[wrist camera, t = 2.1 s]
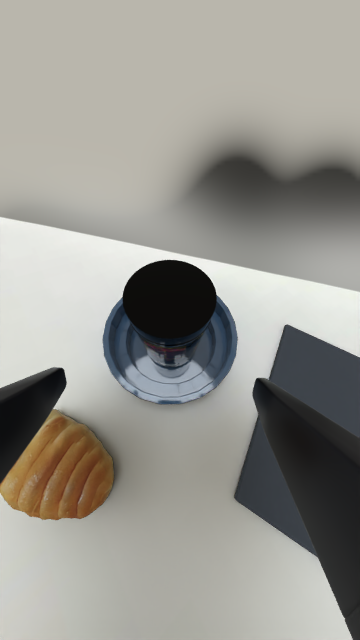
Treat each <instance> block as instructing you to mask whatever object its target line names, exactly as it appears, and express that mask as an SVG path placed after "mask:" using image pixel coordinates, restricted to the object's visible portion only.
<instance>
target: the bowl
mask: <svg viewBox="0 0 360 640" xmlns="http://www.w3.org/2000/svg"><path fill="white" fill-rule="evenodd" d="M216 296H217V295H216ZM237 340H238V337H237V332H236V326H235V322H234V319H233V317H232V315H231V313H230V311H229V309H228V307H227V306H226V305H225V304H224V303H223V301H222V300H221V299H220V298H219V297H218V296H217V303H216V308H215V311H214V313H213V316H212V318H211V321H210V323H209V325H208V327H207V329H206V330H205V332H204V335H203V337H202V339H201V341H200V343H199V346H198V348H197V350H196V352H195V354H194V356H193V357H192V358H191V359H190V360H189V361H188V362H186V363H185V364H182V365H180V366H176V367H166V366H162V365H160V364H158V363H156V362H155V361H153V360H152V359H151V358H150V356H149V355H148V353H147V351H146V349H145V348H144V346H143V344H142V342H141V340H140V338H139V336H138V335H137V333H136V331H135V330H134V329H133V327H132V325H131V323H130V321H129V319H128V317H127V315H126V313H125V311H124V307H123V297H122V298H121V299H120V300H119V302H118V303H117V304H116V305H115V306H114V307H113V309H112V311H111V313H110V315H109V317H108V319H107V321H106V324H105V329H104V334H103V348H104V357H105V359H106V362H107V364H108V367H109V369H110V372H111V373H112V375H113V376H114V377H115V378H116V379H117V381H118V382H119V383H120V384H121V386H122V387H124V388H125V389H126V390H128V391H129V392H131V393H132V394H134V395H135V396H137V397H138V398H140V399H143V400H147V401H150V402H154V403H157V404H182V403H186V402H189V401H192V400H195V399H198V398H201V397H203V396H204V395H205V394H207V393H208V392H210V391H211V390H213V389H214V388H216V387H217V386H218V385H219V384H220V382H221V381H222V380H223V379H224V377H225V376H226V375H227V374H228V373H229V371H230V369H231V366H232V364H233V361H234V359H235V356H236V350H237Z"/></svg>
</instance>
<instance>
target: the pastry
mask: <svg viewBox="0 0 360 640" xmlns="http://www.w3.org/2000/svg"><path fill="white" fill-rule="evenodd" d="M113 481H114V472H113V459H112V457H111V456H110V455H109V454H108V452H107V451H106V450H105V449H104V448H103V446H102V443H101V441H100V440H98V439H97V438H96V436H95V434H94V432H92V431H90V430H89V429H88V427H87V426H86V425H84V424H79V423H77V422H76V421H74V420H73V419H72V418H70V417H68V416H65V415H63V414H61V413H60V412H59V411H58V410H56V409H53V410H52V411H51V413H50V415H49V416H48V418H47V419H46V421H45V422H44V424H43V425H42V427H41V428H40V430H39V431H38V432H37V434H36V435H35V437H34V438H33V439H32V441H31V442H30V444H29V445H28V446H27V448H26V449H25V451H24V452H23V453H22V455H21V456H20V458H19V459H18V460H17V462H16V463H15V465H14V466H13V467H12V469H11V470H10V472H9V473H8V474H7V476H6V477H5V479H4V480H3V481H2V483H1V484H0V493H1V495H2V496H3V498H4V500H6V501H7V503H8V504H9V505H10V506H11V507H12V508H13V509H16V510H19V511H23V512H25V513H26V514H27V515H29V516H30V517H39V518H41V519H42V520H46V519H53V520H59V519H61V518H78V519H81V518H84V517H86V516H88V515H89V514H91V513H92V512H93V511H94V510H96V509H97V508H98V507H99V506H101V505H102V504H103V503H104V502H105V500H106V499H107V497H108V495H109V493H110V491H111V488H112V485H113Z"/></svg>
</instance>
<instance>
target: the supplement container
mask: <svg viewBox="0 0 360 640" xmlns="http://www.w3.org/2000/svg"><path fill="white" fill-rule="evenodd" d="M216 303H217V296H216V290H215V287H214V285H213V283H212V281H211V280H210V278H209V277H208V276H207V275H206V274H205V273H204V272H203V271H202V270H200V269H199V268H197V267H196V266H194V265H192V264H189V263H186V262H183V261H177V260H162V261H157V262H153V263H150V264H148V265H146V266H144V267H142V268H141V269H139V270H138V271H136V272H135V273H134V274H133V275H132V276H131V278H130V279H129V280H128V282H127V284H126V286H125V288H124V292H123V307H124V311H125V313H126V315H127V317H128V319H129V321H130V323H131V325H132V327H133V329H134V330H135V331H136V333H137V335H138V336H139V338H140V340H141V342H142V344H143V346H144V348H145V349H146V351H147V353H148V355H149V356H150V358H151V359H152V360H153V361H155V362H156V363H158V364H160V365H162V366H166V367H176V366H180V365H182V364H185V363H186V362H188V361H189V360H190V359H191V358H192V357H193V356H194V354H195V352H196V350H197V348H198V346H199V343H200V341H201V339H202V337H203V335H204V332H205V330H206V329H207V327H208V325H209V323H210V321H211V318H212V316H213V313H214V311H215V308H216Z"/></svg>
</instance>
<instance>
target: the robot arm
mask: <svg viewBox="0 0 360 640" xmlns="http://www.w3.org/2000/svg"><path fill="white" fill-rule="evenodd" d="M66 383H67V382H66V377H65V372H64V369H63V368H57V367H53V368H50V369H47V370H45V371H42V372H40V373H37V374H35V375H32V376H30V377H27V378H25V379H22V380H20V381H17V382H15V383H12V384H10V385H7V386H5V387H2V388H0V484H1V483H2V481H3V480H4V479H5V477H6V476H7V474H8V473H9V472H10V470H11V469H12V467H13V466H14V465H15V463H16V462H17V460H18V459H19V458H20V456H21V455H22V453H23V452H24V451H25V449H26V448H27V446H28V445H29V444H30V442H31V441H32V439H33V438H34V437H35V435H36V434H37V432H38V431H39V430H40V428H41V427H42V425H43V424H44V422H45V421H46V419H47V418H48V416H49V415H50V413H51V411H52V410H53V408H54V406H55V404H56V403H57V401H58V399H59V398H60V396H61V394H62V393H63V391H64V389H65V387H66ZM253 399H254V402H255V405H256V408H257V411H258V414H259V417H260V421H261V424H262V427H263V430H264V432H265V435H266V437H267V440H268V442H269V444H270V447H271V449H272V451H273V454H274V456H275V458H276V461H277V463H278V465H279V468H280V470H281V472H282V475H283V477H284V479H285V482H286V484H287V486H288V489H289V491H290V493H291V496H292V498H293V500H294V503H295V505H296V507H297V510H298V512H299V514H300V517H301V519H302V521H303V524H304V526H305V528H306V531H307V533H308V535H309V538H310V540H311V542H312V545H313V547H314V549H315V552H316V554H317V556H318V559H319V561H320V563H321V566H322V568H323V570H324V573H325V575H326V577H327V580H328V582H329V584H330V587H331V589H332V591H333V594H334V596H335V598H336V601H337V603H338V605H339V608H340V610H341V612H342V615H343V616H344V618H345V622H346V624H347V627H348V629H349V631H350V634H351V636H352V638H353V640H360V438H359V437H358V436H356V435H354V434H353V433H351V432H350V431H348V430H347V429H345V428H343V427H342V426H340V425H339V424H337V423H336V422H334V421H332V420H331V419H329V418H328V417H326V416H325V415H323V414H321V413H320V412H318V411H317V410H315V409H313V408H312V407H310V406H309V405H307V404H306V403H304V402H302V401H301V400H299V399H298V398H296V397H295V396H293V395H291V394H290V393H288V392H287V391H285V390H284V389H282V388H280V387H279V386H277V385H276V384H274V383H273V382H271V381H269V380H268V379H266V378H257V379H256V381H255V384H254V388H253Z"/></svg>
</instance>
